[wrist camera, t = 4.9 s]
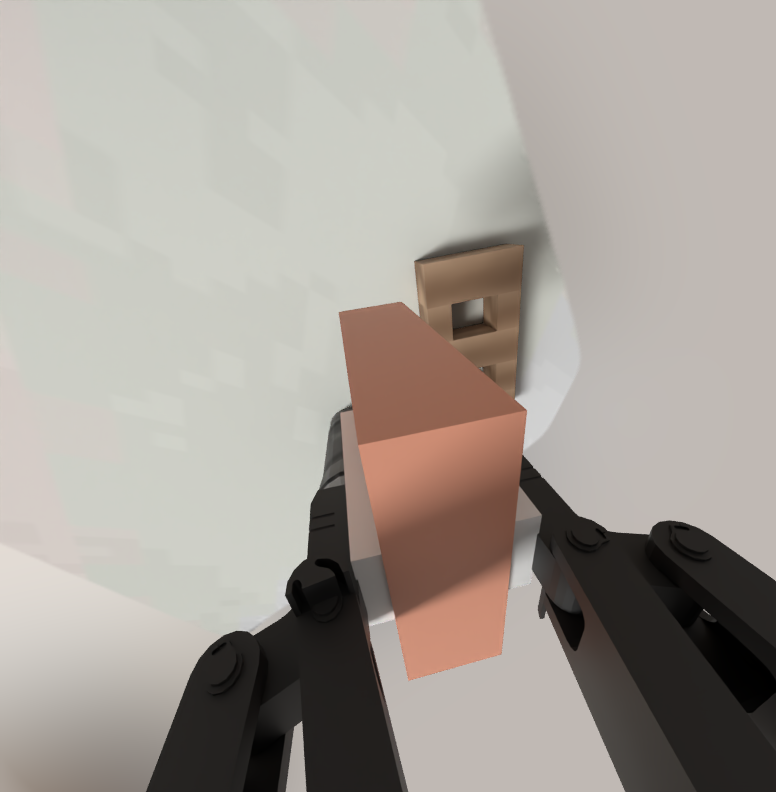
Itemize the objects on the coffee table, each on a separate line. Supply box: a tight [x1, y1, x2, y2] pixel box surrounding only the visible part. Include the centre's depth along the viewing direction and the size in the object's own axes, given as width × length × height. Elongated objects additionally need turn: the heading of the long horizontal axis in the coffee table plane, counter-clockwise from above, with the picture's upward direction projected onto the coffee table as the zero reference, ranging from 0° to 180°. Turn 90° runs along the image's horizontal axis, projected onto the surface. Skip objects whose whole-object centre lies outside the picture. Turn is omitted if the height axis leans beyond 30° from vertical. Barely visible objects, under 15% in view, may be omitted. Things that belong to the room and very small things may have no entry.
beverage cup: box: [319, 408, 353, 490], centre depth 27 cm, size 7×7×20 cm
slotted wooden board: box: [414, 244, 524, 400], centre depth 32 cm, size 18×9×3 cm, turn 9°
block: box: [339, 302, 527, 680], centre depth 12 cm, size 9×3×10 cm, turn 7°
